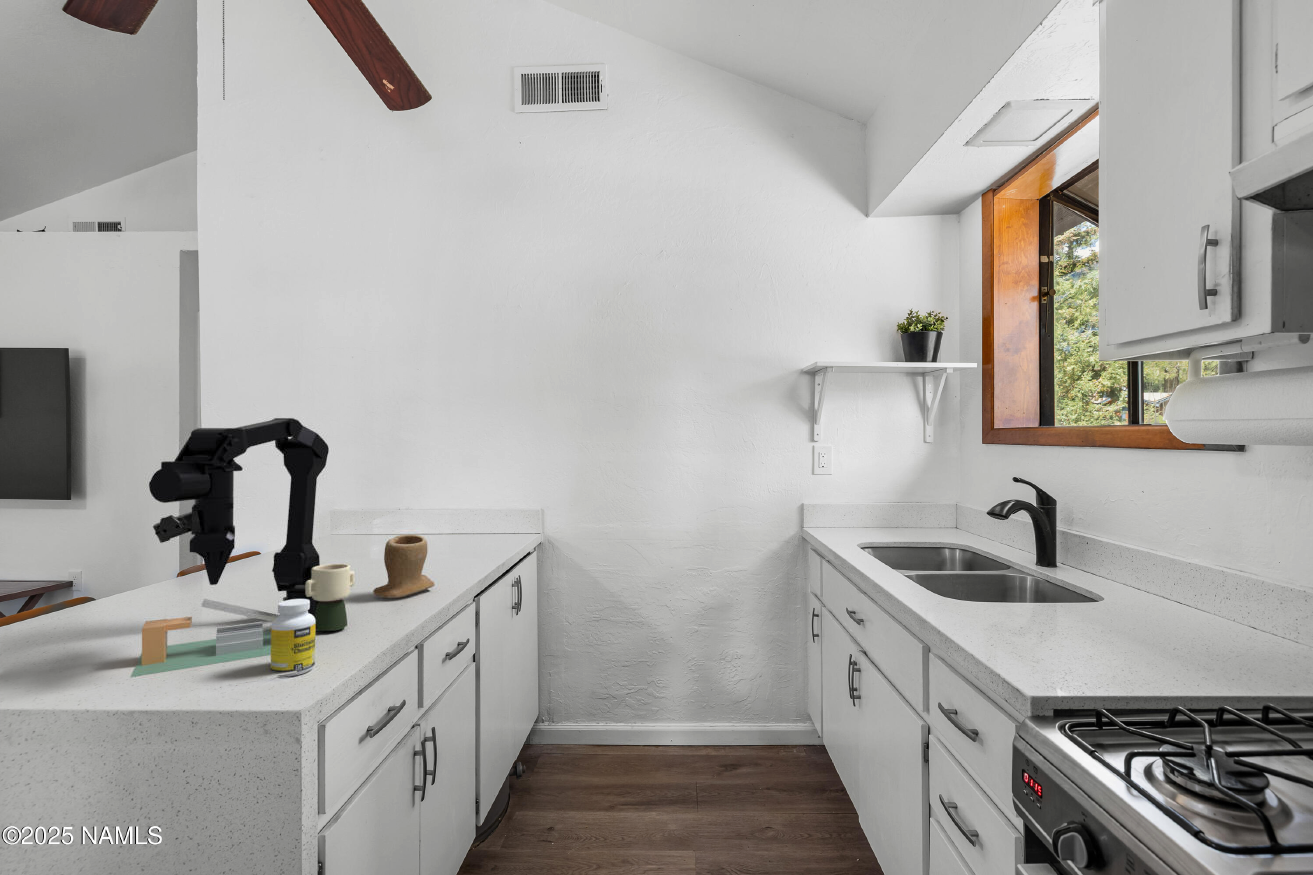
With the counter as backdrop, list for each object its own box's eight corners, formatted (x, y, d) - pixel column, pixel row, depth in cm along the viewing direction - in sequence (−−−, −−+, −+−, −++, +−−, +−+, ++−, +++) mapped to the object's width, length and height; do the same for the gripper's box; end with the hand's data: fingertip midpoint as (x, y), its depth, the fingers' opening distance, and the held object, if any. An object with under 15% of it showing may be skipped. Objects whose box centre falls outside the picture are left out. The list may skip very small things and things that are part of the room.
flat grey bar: (282, 621, 120) (285, 614, 120) (283, 625, 117) (286, 619, 117) (201, 603, 113) (204, 597, 113) (200, 608, 110) (203, 601, 110)
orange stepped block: (191, 650, 112) (192, 615, 112) (189, 658, 108) (190, 622, 108) (145, 656, 109) (145, 621, 109) (141, 665, 105) (142, 628, 105)
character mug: (342, 621, 134) (342, 560, 134) (365, 625, 131) (365, 563, 131) (293, 635, 124) (294, 570, 125) (317, 640, 121) (318, 573, 121)
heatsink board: (290, 633, 126) (290, 600, 126) (296, 656, 112) (296, 620, 112) (143, 654, 113) (143, 618, 113) (130, 683, 100) (131, 642, 100)
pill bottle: (283, 681, 101) (283, 609, 101) (262, 673, 104) (263, 603, 104) (323, 668, 106) (323, 600, 106) (302, 661, 110) (302, 595, 110)
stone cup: (400, 604, 149) (400, 541, 149) (366, 598, 154) (366, 537, 154) (447, 590, 162) (447, 532, 162) (414, 585, 168) (414, 529, 168)
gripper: (162, 495, 115) (162, 579, 115) (151, 504, 100) (150, 601, 100) (235, 493, 122) (234, 572, 122) (234, 500, 106) (234, 592, 106)
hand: (213, 584), depth 112 cm, fingers closed
